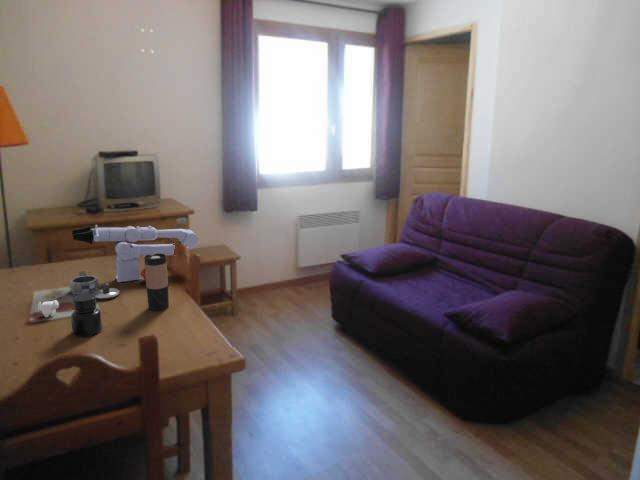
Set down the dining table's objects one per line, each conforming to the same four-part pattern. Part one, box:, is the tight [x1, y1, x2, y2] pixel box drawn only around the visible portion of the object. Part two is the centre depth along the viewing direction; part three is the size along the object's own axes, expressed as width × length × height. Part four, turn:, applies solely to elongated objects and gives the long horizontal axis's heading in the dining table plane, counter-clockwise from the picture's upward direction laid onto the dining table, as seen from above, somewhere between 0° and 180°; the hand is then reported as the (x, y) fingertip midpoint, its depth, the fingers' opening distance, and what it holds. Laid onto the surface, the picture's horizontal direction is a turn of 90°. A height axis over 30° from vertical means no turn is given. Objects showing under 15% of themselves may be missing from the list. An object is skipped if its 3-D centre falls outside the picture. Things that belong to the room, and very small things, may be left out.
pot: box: [69, 270, 100, 296], centre depth 204 cm, size 10×20×5 cm, turn 28°
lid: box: [93, 282, 120, 300], centre depth 197 cm, size 10×10×5 cm
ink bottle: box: [70, 294, 103, 337], centre depth 165 cm, size 10×9×12 cm
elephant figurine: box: [37, 299, 60, 318], centre depth 178 cm, size 7×8×6 cm
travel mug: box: [143, 253, 170, 312], centre depth 185 cm, size 8×8×20 cm
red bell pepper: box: [139, 267, 146, 284], centre depth 213 cm, size 7×7×10 cm
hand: (72, 234), depth 204 cm, fingers open, 7 cm apart
